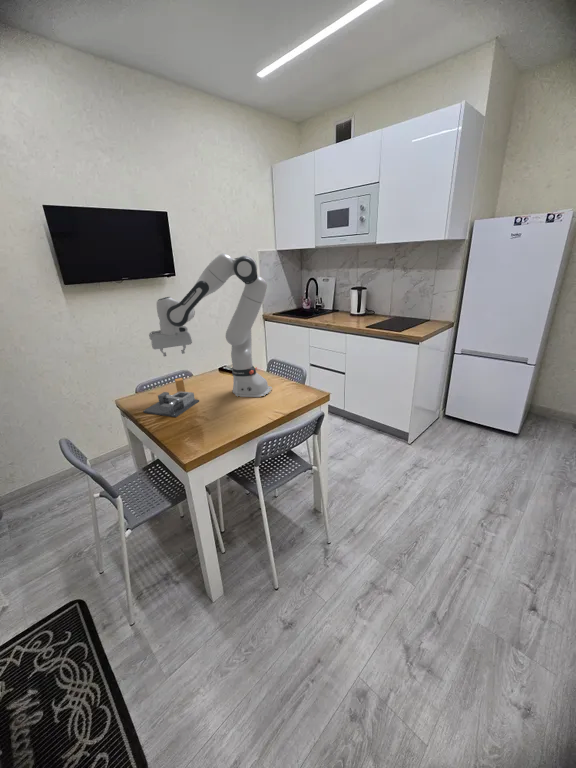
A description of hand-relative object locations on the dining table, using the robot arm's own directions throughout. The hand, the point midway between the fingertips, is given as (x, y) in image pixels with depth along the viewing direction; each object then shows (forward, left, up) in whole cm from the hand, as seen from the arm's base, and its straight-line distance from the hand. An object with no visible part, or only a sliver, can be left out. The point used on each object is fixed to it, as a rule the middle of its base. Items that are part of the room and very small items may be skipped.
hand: (174, 354), depth 170 cm
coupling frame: (-6, +15, -23) cm, 28 cm away
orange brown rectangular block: (0, 0, -23) cm, 23 cm away
